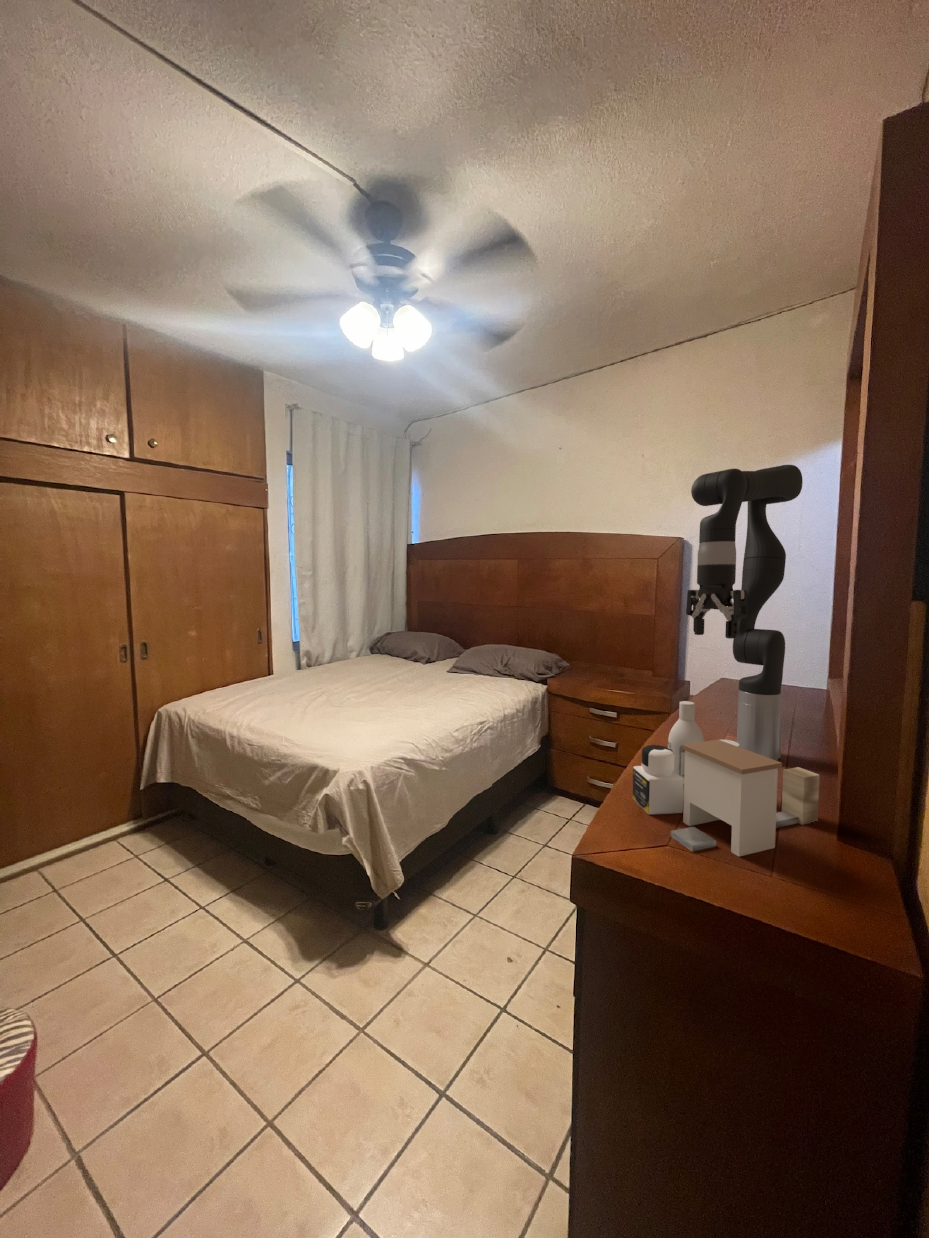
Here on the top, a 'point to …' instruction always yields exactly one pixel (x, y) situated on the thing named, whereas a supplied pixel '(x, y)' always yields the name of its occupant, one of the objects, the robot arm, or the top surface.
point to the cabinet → (732, 792)
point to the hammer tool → (798, 797)
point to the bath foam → (683, 735)
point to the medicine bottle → (658, 782)
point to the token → (693, 839)
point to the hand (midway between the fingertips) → (714, 636)
